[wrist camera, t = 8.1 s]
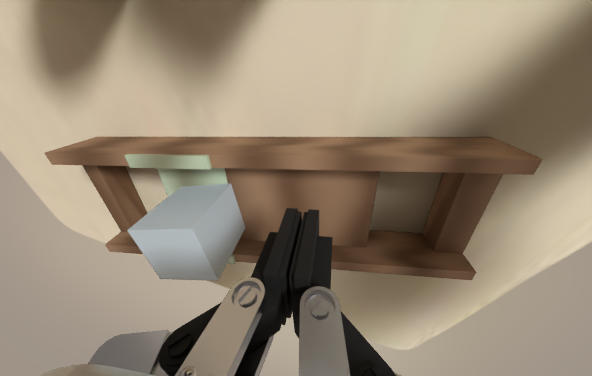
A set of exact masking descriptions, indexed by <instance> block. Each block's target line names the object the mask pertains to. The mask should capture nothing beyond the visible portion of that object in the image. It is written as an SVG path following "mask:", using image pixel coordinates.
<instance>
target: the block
mask: <svg viewBox="0 0 592 376" xmlns="http://www.w3.org/2000/svg"><path fill="white" fill-rule="evenodd" d="M244 230H245V225H244V222H243V219H242V216H241V213H240V210H239V207H238V203H237V200H236V197H235V194H234V191H233V188H232V185H231V183H230V184H215V185H199V186H184V187H180V188H179V189H177V190H176V191H175V192H174V193H172V194H171V195H170V196H169V197H168V198H166V199H165V200H164V201H163V202H161V203H160V204H159V205H158V206H156V207H155V208H154V209H153V210H151V211H150V212H149V213H148V214H147V215H145V216H144V217H143V218H142V219H140V220H139V221H138V222H137V223H135V224H134V225H133V226H132V227H130V228H129V229H128V230H127V231H128V232H129V234H130V235H131V237H132V238H133V240H134V241H135V243H136V244H137V245H138V247H139V248H140V250H141V251H142V253H143V254H144V256H145V257H146V259H147V260H148V262H149V263H150V264H151V266H152V267H153V269H154V270H155V272H156V273H157V275H158V276H159V278H160V279H182V280H216V281H218V280H219V278H220V276H221V274H222V272H223V270H224V268H225V266H226V264H227V262H228V260H229V258H230V256H231V255H232V253H233V251H234V249H235V247H236V245H237V243H238V241H239V239H240V237H241V235H242V233H243V231H244Z"/></svg>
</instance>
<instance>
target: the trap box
mask: <svg viewBox="0 0 592 376" xmlns="http://www.w3.org/2000/svg"><path fill="white" fill-rule="evenodd" d="M45 155H46V156H47V158H48V159H49V161H50V162H51V164H54V165H83V167H84V169H85V170H86V172H87V174H88V176H89V177H90V179H91V181H92V182H93V184H94V186H95V187H96V189H97V191H98V193H99V194H100V196H101V198H102V199H103V201H104V203H105V204H106V206H107V208H108V210H109V211H110V213H111V215H112V216H113V218H114V220H115V221H116V223H117V225H118V227H119V228H120V230H121V232H120V233H119V234H118V235H116V236H115V237H114V238H113V239H111V240H110V241H109V242H108V243H106V247H107V248H108V250H109V251H110V252H123V253H136V254H143V253H142V251H141V250H140V248H139V247H138V245H137V244H136V243H135V241H134V240H133V238H132V237H131V235H130V234H129V232H128V231H127V230H128V229H129V228H130V227H132V226H133V225H134V224H135V223H137V222H138V221H139V220H140V219H142V218H143V217H144V216H145V215H147V212H146V210H145V207H144V205H143V203H142V201H141V199H140V197H139V195H138V193H137V191H136V189H135V187H134V185H133V183H132V180H131V178H130V176H129V174H128V172H127V170H126V168H125V166H130V168H157V170H158V173H159V175H160V178H161V180H162V183H163V185H164V188H165V190H166V193H167V195H168V197H169V196H170V195H171V194H172V193H174V192H175V191H176V190H177V189H179V188H180V187H184V186H199V185H215V184H230V183H231V185H232V188H233V191H234V194H235V197H236V200H237V203H238V207H239V210H240V213H241V216H242V219H243V222H244V225H245V230H244V231H243V233H242V235H241V237H240V239H239V241H238V243H237V245H236V247H235V249H234V251H233V253H232V255H231V256H230V258H229V260H228V262H227V263H229V264H235V262H249V263H257V261H258V259H259V257H260V254H261V252H262V249H263V247H264V244H265V242H266V239H267V237H268V235H269V233H270V232H278V231H279V228H280V225H281V222H282V219H283V217H284V214H285V211H286V209H287V208H297V209H298V211H300V212H301V213H302V219H303V214H304V212H308V209H312V210H319V236H325V237H333V239H332V262H331V269H337V270H350V271H362V272H375V273H388V274H400V275H413V276H425V277H438V278H451V279H463V280H472V279H473V277H474V275H475V273H476V271H475V270H474V269H473V267H472V266H471V265H470V263H469V262H468V260H467V259H466V258H465V256H464V255H463V252H464V250H465V248H466V246H467V244H468V242H469V240H470V238H471V236H472V234H473V232H474V230H475V228H476V226H477V224H478V222H479V220H480V219H481V217H482V215H483V213H484V211H485V209H486V207H487V205H488V203H489V201H490V199H491V197H492V195H493V193H494V191H495V189H496V187H497V185H498V183H499V181H500V179H501V177H502V175H503V174H534V173H535V171H536V170H537V168H538V166H539V165H540V163H541V161H542V159H541V158H539V157H536V156H534V155H532V154H529V153H527V152H525V151H522V150H520V149H517V148H515V147H513V146H510V145H508V144H506V143H503V142H501V141H499V140H496V139H494V138H492V137H95V138H92V139H88V140H85V141H82V142H79V143H75V144H72V145H69V146H65V147H62V148H59V149H56V150H52V151H49V152H46V153H45ZM380 171H392V172H440V173H443V176H442V179H441V182H440V184H439V187H438V190H437V193H436V196H435V199H434V202H433V205H432V207H431V210H430V213H429V216H428V219H427V222H426V225H425V228H424V230H423V233H406V232H388V231H370V230H369V228H370V223H371V217H372V212H373V206H374V201H375V195H376V189H377V184H378V178H379V173H380Z"/></svg>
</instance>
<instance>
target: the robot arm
mask: <svg viewBox="0 0 592 376" xmlns="http://www.w3.org/2000/svg"><path fill="white" fill-rule="evenodd" d="M332 239H333V237H325V236H319V210H312V209H308V212H304V214H303V219H302V213H301V212H300V211H298V209H297V208H287V209H286V211H285V214H284V217H283V219H282V222H281V225H280V228H279V231H278V232H270V233H269V235H268V237H267V239H266V242H265V244H264V247H263V249H262V252H261V254H260V257H259V259H258V261H257V264H256V266H255V269H254V271H253V274H252V276H251V277H248V278H244V279H241V280H239V281H238V282H237V283H235V284H234V285H233V286H232V288H231V289H230V290H229V292H228V294H227V295H226V297H225V298H224V300H223V301H222V303H220V304H218V305H216V306H215V307H213V308H211V309H210V310H208V311H206V312H205V313H203V314H201V315H200V316H198V317H196V318H195V319H193V320H191V321H190V322H188V323H186V324H185V325H183V326H181V327H180V328H178V329H177V330H175V331H174V332H169V331H168V330H162V331H152V332H143V333H131V334H121V335H118V336H114V337H113V338H111V339H109V340H108V341H106V342H105V343H104V344H103V345H102V346H100V347H99V349H98V350H97V351H96V352H95V354H94V355H93V357H92V358H91V360H90V361H89V363H88V364H80V365H72V366H66V367H61V368H57V369H54V370H51V371H48V372H45V373H43V374H40V375H37V376H259V375H260V372H261V369H262V367H263V364H264V361H265V358H266V356H267V353H268V351H269V348H270V345H271V343H272V340H273V336H274V334H275V333H276V332H278V331H279V330H280V328H281V324H282V325H285V323H286V318H290V317H291V314H292V312H293V320H294V329H295V333H296V335H297V336H298V338H299V376H401V375H399V374H397V373H394V372H393V371H392V369H391V368H390V367H389V366H388V364H387V363H386V362H385V361H384V360H383V359H382V358H381V356H380V355H379V354H378V353H377V352H376V351H375V350H374V348H373V347H372V346H371V345H370V344H369V343H368V342H367V340H366V339H365V338H364V337H363V336H362V335H361V334H360V332H359V331H358V330H357V329H356V328H355V327H354V326H353V325H352V323H351V322H350V321H349V320H348V319H347V318H346V317H345V315H344V314H343V313H342V312H341V310H340V304H339V301H338V298H337V296H336V295H335V293H333V292H332V291H331V290H330V285H331V262H332Z"/></svg>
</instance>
